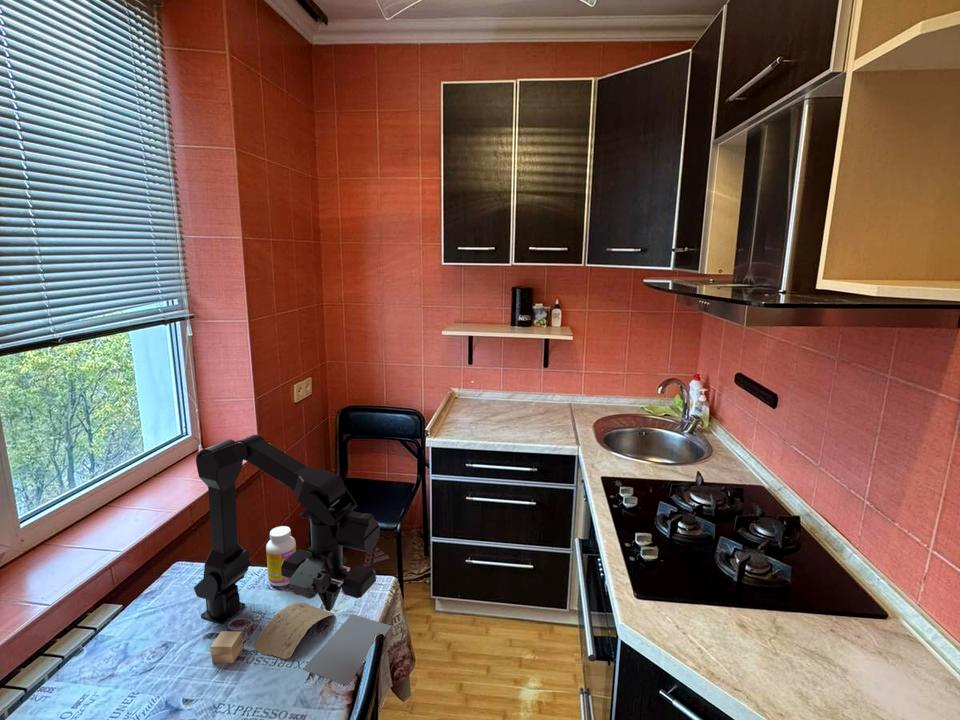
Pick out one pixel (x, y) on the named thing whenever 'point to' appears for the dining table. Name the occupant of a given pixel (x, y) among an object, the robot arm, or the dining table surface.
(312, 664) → the slate mat
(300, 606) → the clay tablet
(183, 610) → the dining table surface
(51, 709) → the dining table surface
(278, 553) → the supplement bottle
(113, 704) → the dining table surface
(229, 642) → the oak block
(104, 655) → the dining table surface
